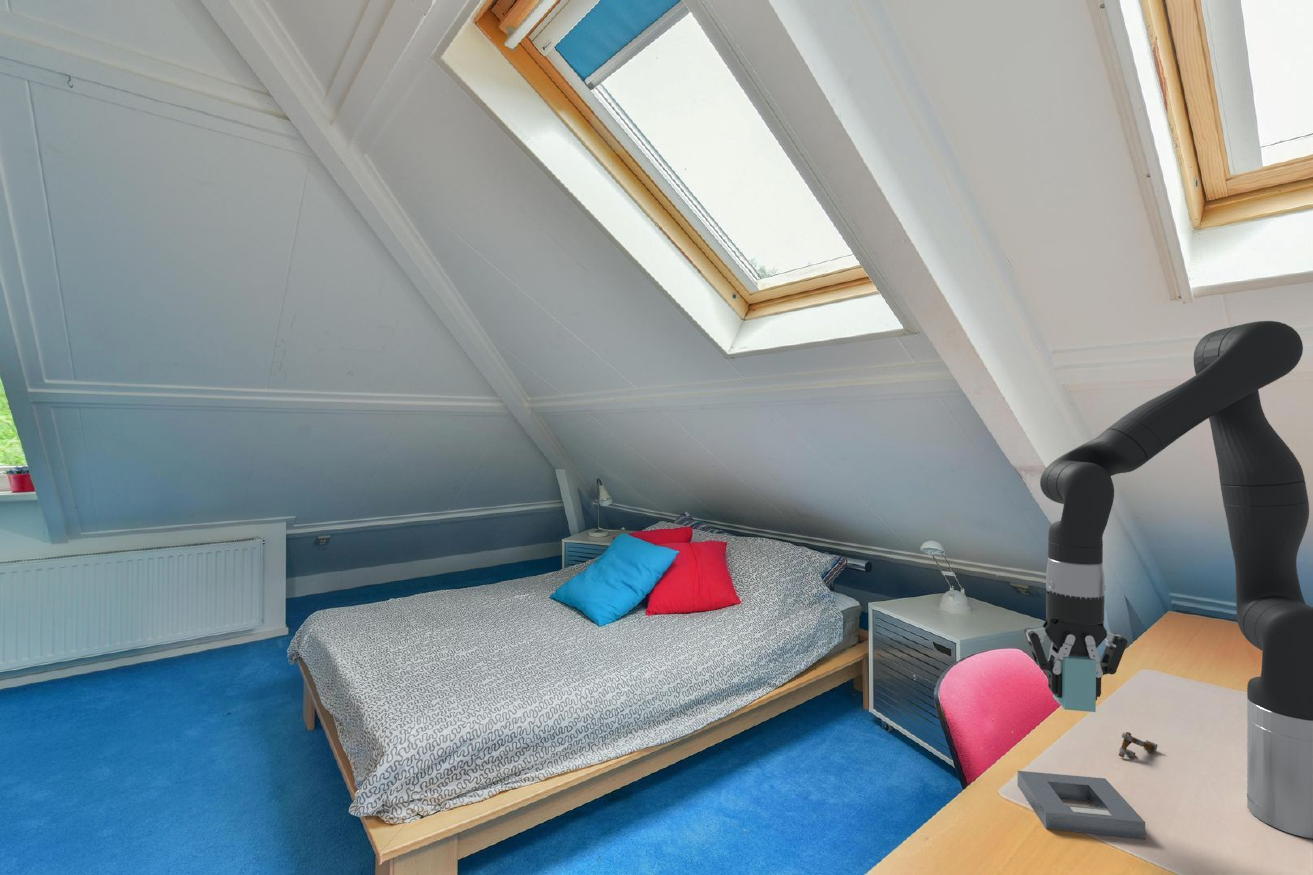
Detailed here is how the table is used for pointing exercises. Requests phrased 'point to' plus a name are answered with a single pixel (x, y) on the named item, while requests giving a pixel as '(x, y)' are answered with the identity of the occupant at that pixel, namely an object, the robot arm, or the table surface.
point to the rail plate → (1102, 819)
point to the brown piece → (1129, 739)
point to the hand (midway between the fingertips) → (1073, 696)
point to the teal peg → (1078, 683)
